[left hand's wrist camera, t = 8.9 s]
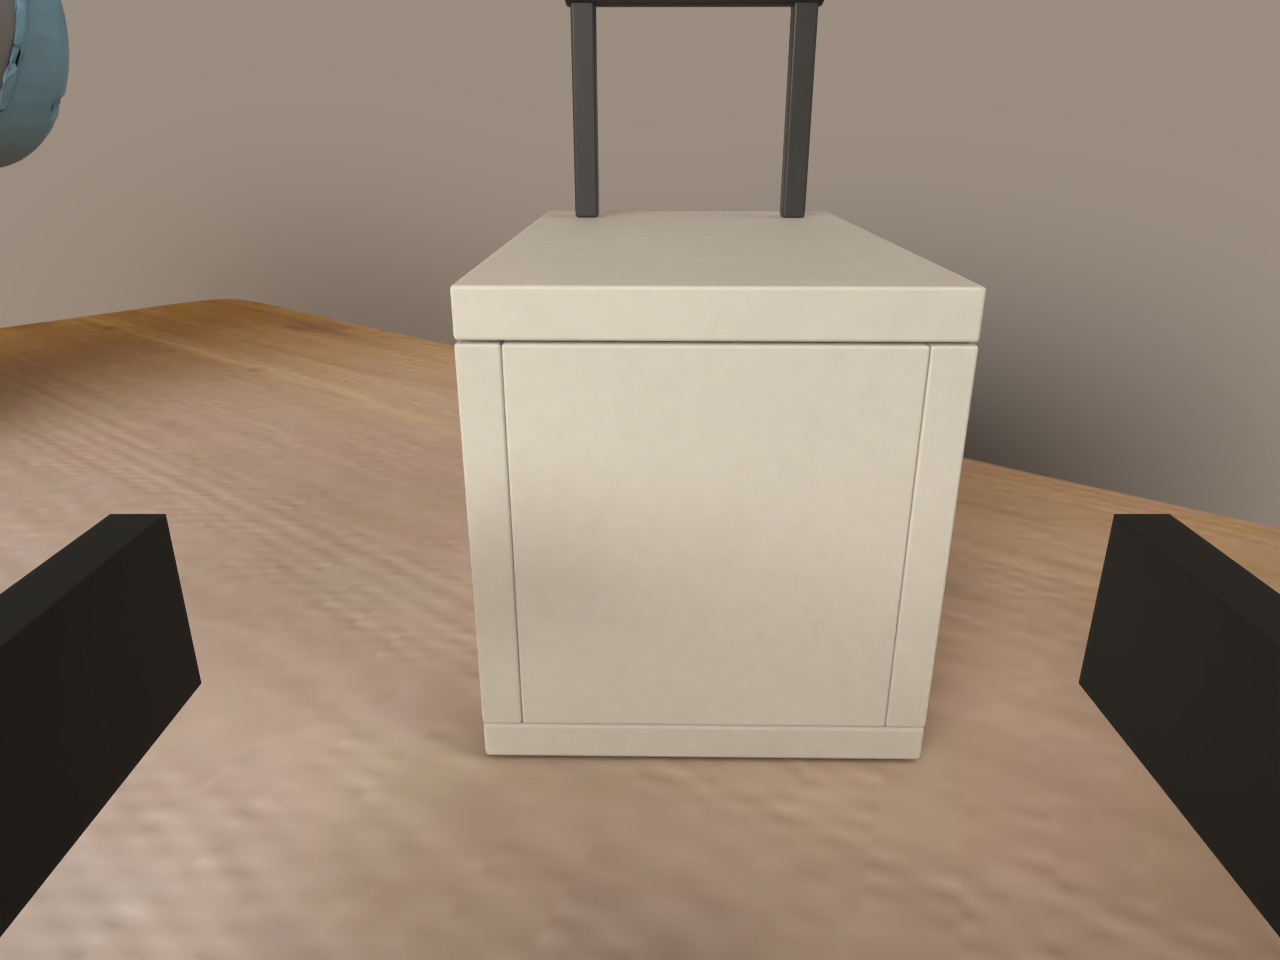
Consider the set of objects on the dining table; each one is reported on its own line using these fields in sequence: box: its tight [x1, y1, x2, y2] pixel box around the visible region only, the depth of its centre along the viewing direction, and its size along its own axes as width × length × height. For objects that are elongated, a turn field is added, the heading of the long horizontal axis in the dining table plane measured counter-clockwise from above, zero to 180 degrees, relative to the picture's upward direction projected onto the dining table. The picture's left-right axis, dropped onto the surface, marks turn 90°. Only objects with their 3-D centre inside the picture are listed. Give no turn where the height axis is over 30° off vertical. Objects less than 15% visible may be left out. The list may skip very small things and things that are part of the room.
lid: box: [450, 0, 986, 342], centre depth 22 cm, size 16×9×9 cm, turn 179°
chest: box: [454, 340, 978, 759], centre depth 25 cm, size 15×9×9 cm, turn 179°
